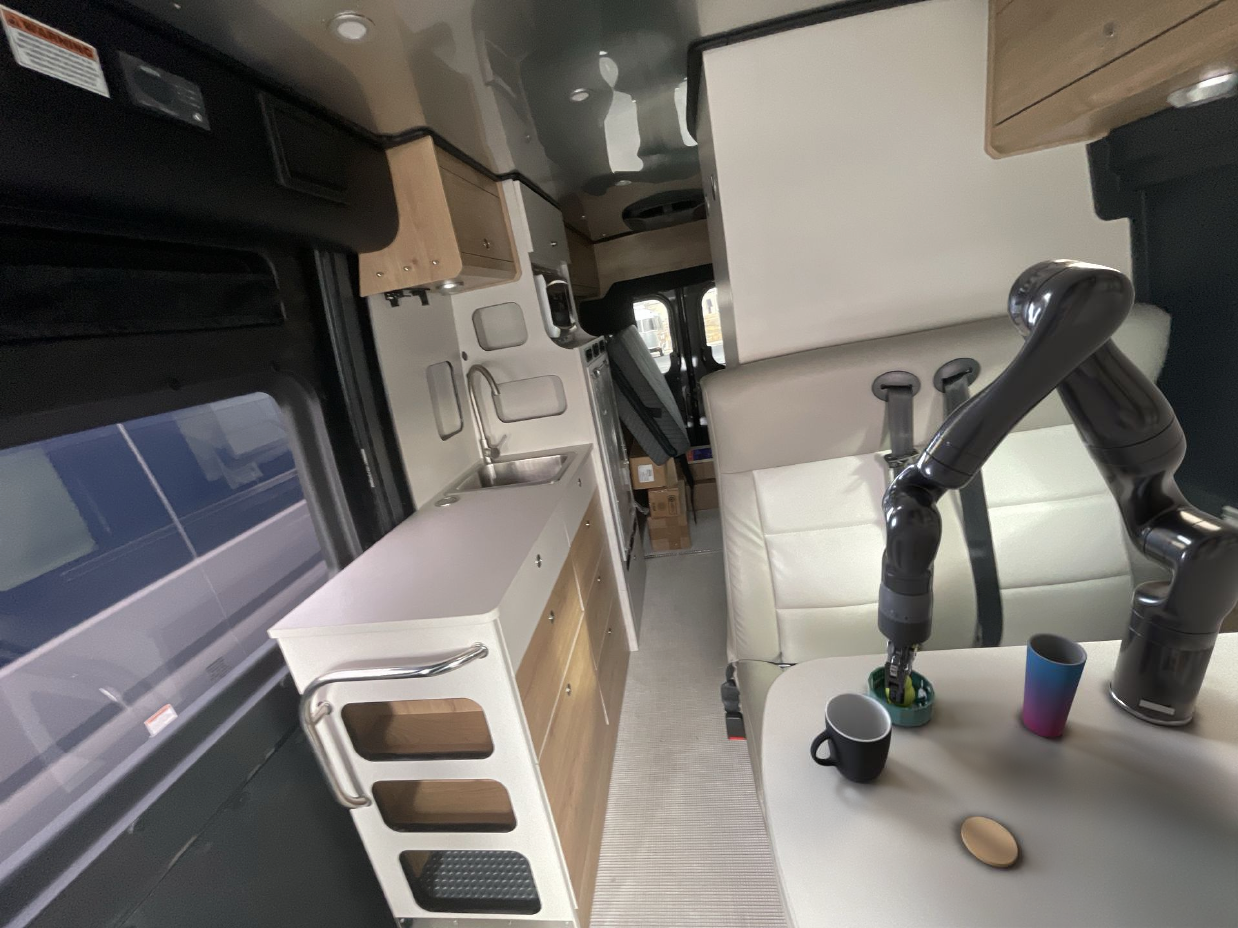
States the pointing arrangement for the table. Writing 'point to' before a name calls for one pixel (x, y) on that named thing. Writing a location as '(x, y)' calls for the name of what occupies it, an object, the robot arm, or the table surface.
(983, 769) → the table surface
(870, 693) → the bowl
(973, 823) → the coaster
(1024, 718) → the cup
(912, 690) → the pear
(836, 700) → the mug
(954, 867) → the table surface
